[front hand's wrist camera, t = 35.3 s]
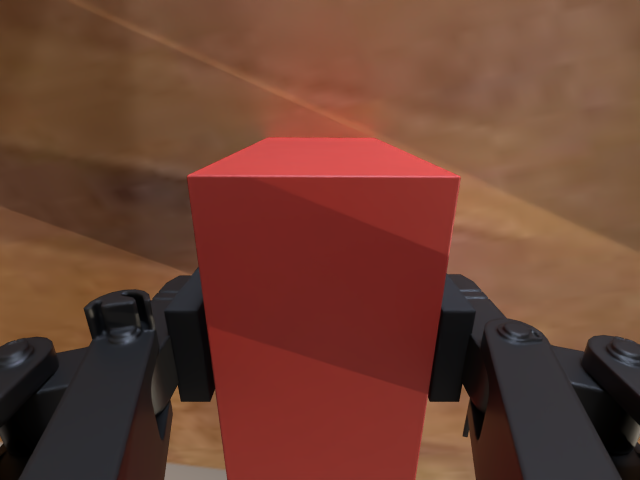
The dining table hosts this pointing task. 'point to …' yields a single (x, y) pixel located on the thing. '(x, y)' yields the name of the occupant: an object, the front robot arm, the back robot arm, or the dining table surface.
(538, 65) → the dining table surface
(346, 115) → the dining table surface
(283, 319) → the block
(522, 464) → the front robot arm
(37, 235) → the dining table surface
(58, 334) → the dining table surface
